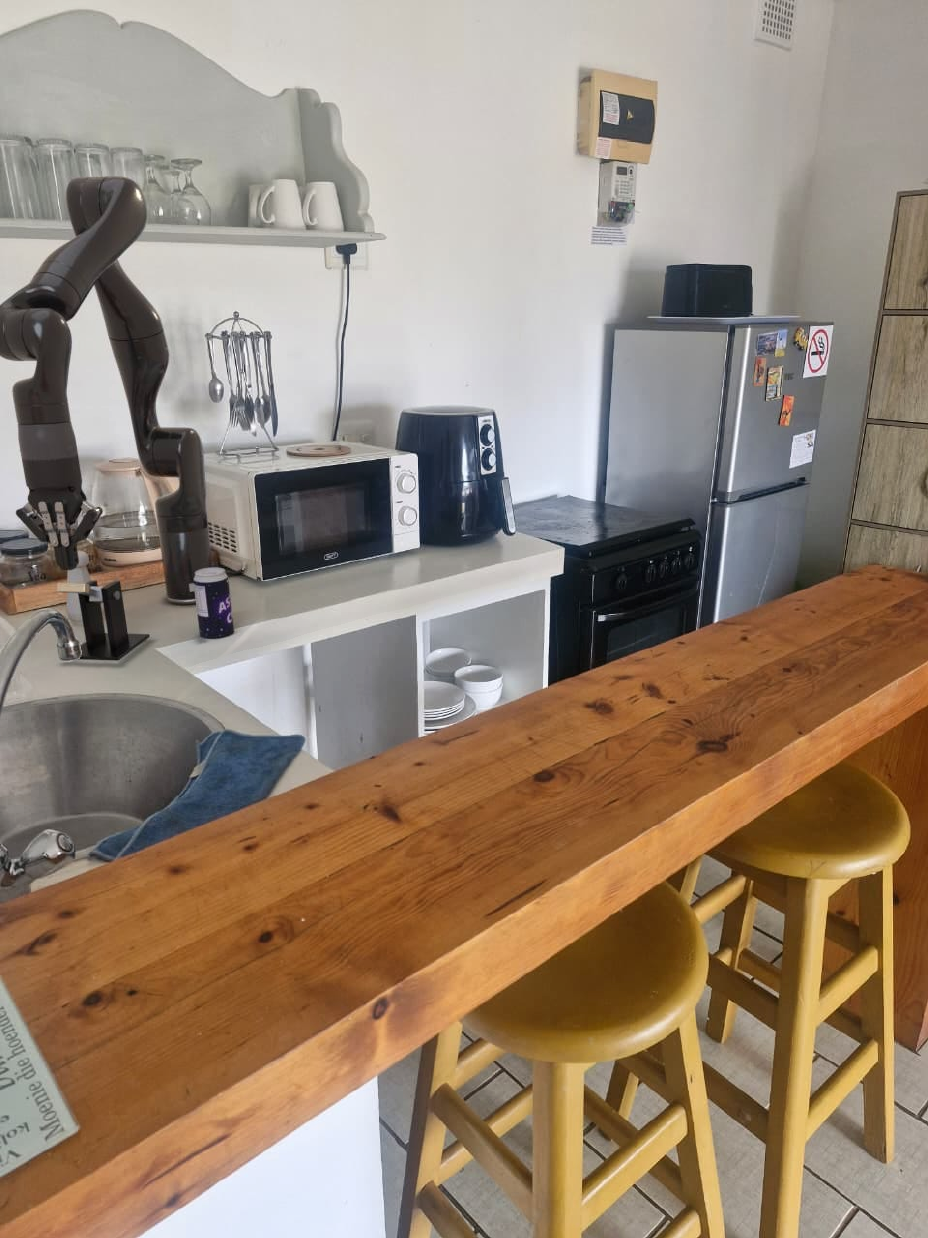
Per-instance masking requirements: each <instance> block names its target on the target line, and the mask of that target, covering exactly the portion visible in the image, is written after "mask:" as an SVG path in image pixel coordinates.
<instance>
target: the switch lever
mask: <svg viewBox="0 0 928 1238" xmlns="http://www.w3.org/2000/svg"><path fill="white" fill-rule="evenodd" d="M56 584H57V585H56V592H57V593H62V594H63V593H65V594H67V593H79V594H83V595H87V596H89V601H91V602H95V603H100V604H103V599H102V592H101V588H103V587H104V586H98V587H94V586H91V587H90V588H89V586H90V585H88V584H82V583H67V582H57V583H56Z"/></svg>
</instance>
